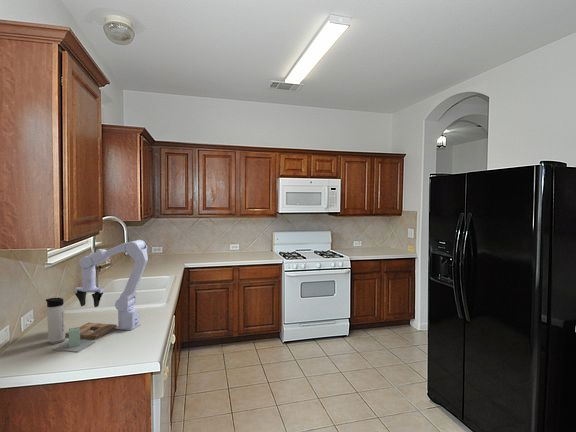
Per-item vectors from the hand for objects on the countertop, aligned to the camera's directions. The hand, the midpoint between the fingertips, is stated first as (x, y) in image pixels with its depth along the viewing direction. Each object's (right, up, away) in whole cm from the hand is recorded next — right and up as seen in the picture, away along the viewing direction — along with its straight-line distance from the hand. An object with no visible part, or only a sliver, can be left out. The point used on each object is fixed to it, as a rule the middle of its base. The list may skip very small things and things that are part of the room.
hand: (89, 306), depth 171 cm
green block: (+6, -11, -22) cm, 25 cm away
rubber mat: (+6, -12, -22) cm, 25 cm away
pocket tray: (+5, -11, -6) cm, 13 cm away
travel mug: (-5, -12, -17) cm, 21 cm away
